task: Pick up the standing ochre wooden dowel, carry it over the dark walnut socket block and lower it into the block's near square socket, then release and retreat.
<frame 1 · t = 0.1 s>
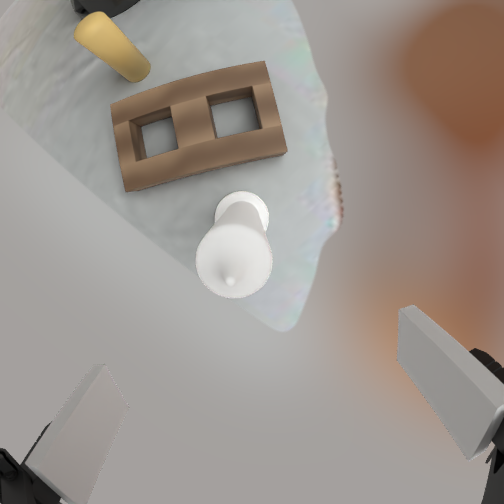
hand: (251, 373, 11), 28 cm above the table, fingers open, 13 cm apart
socket block: (198, 128, 34), on the table
candle: (241, 217, 38), on the table
peg: (137, 70, 32), on the table
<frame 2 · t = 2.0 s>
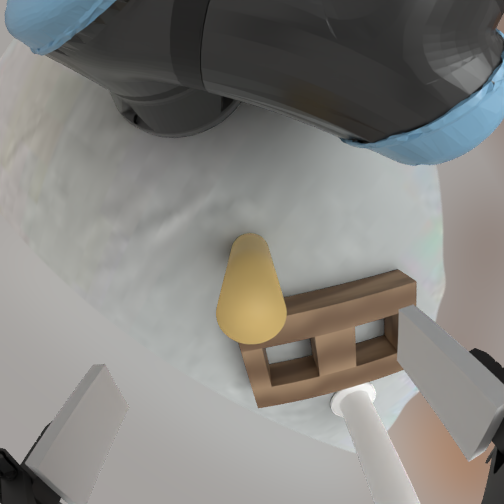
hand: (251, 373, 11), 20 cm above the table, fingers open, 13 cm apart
socket block: (327, 332, 33), on the table
candle: (352, 397, 36), on the table
peg: (250, 251, 30), on the table
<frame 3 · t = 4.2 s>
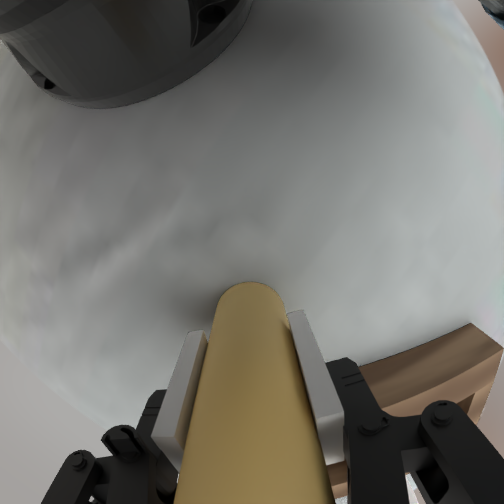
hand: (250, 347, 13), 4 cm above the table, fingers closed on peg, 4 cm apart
socket block: (365, 417, 19), on the table
peg: (250, 313, 16), on the table, touching gripper
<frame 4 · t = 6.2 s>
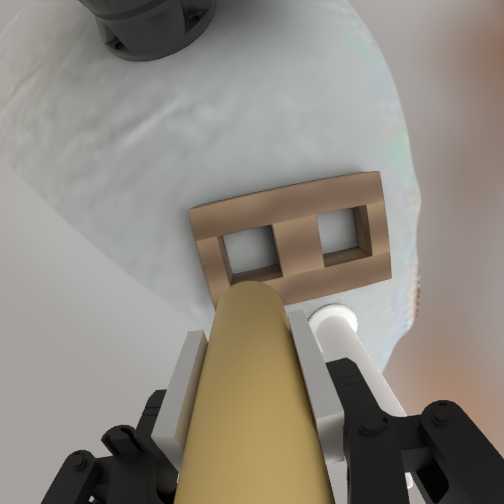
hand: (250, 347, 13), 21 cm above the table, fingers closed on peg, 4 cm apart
socket block: (292, 237, 33), on the table
candle: (330, 327, 36), on the table
peg: (250, 312, 17), point 17 cm above the table, touching gripper
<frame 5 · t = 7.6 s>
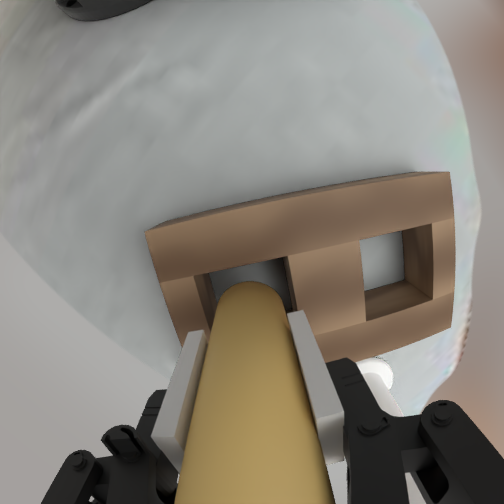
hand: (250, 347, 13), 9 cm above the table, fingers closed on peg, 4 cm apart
socket block: (314, 269, 21), on the table
candle: (358, 384, 24), on the table
peg: (250, 312, 17), point 5 cm above the table, touching gripper
when the fingers open (6 cm above the table, at t = 8.5 s): peg drops 1 cm, resting in socket block.
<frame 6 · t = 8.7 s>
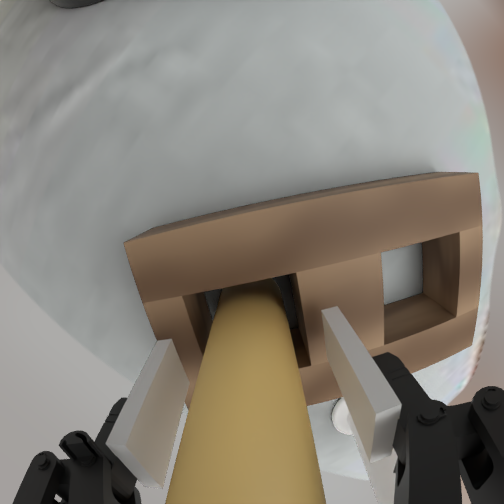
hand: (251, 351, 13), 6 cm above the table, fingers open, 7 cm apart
socket block: (324, 283, 18), on the table
candle: (367, 404, 21), on the table
peg: (251, 300, 18), resting in socket block
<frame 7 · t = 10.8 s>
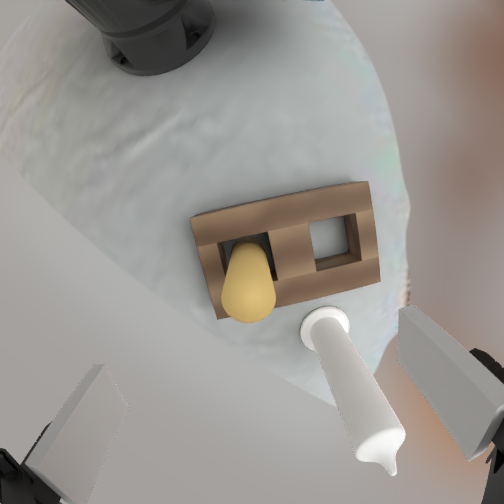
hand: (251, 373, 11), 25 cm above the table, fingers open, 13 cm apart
socket block: (287, 243, 35), on the table
candle: (324, 327, 38), on the table
peg: (248, 252, 35), resting in socket block
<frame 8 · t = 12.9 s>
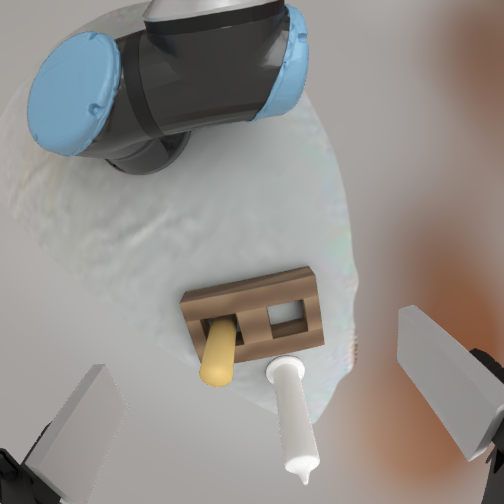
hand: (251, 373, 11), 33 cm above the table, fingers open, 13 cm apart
socket block: (254, 313, 46), on the table
candle: (285, 370, 49), on the table
peg: (225, 319, 46), resting in socket block
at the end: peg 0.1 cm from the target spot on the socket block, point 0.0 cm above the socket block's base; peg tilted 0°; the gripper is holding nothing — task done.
